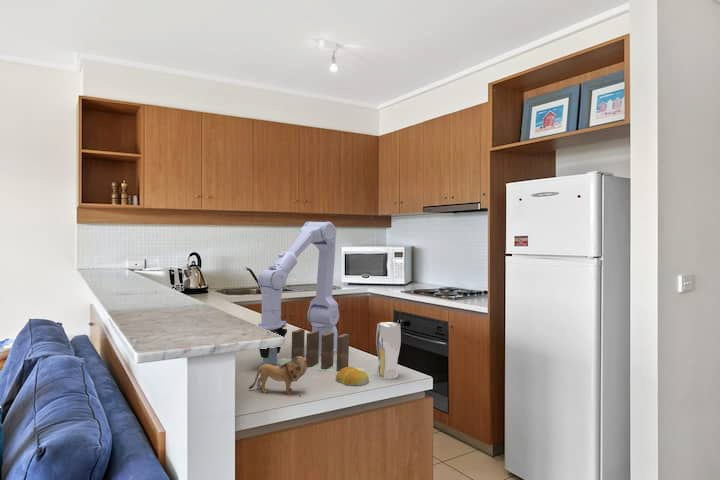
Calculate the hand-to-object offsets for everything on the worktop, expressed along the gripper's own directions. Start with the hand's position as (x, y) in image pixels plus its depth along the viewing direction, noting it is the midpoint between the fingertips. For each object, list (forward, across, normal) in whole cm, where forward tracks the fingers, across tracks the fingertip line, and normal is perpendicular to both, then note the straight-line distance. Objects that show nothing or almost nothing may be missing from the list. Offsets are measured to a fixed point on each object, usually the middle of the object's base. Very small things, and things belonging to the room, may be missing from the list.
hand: (270, 355), depth 148 cm
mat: (+3, -6, +13) cm, 15 cm away
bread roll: (+4, +3, +28) cm, 28 cm away
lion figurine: (+4, +18, +14) cm, 23 cm away
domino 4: (+3, -6, +16) cm, 17 cm away
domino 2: (+3, -6, +6) cm, 9 cm away
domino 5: (+3, -6, +21) cm, 22 cm away
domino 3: (+3, -6, +11) cm, 13 cm away
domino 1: (+3, 0, 0) cm, 3 cm away
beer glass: (+4, -6, +35) cm, 36 cm away
